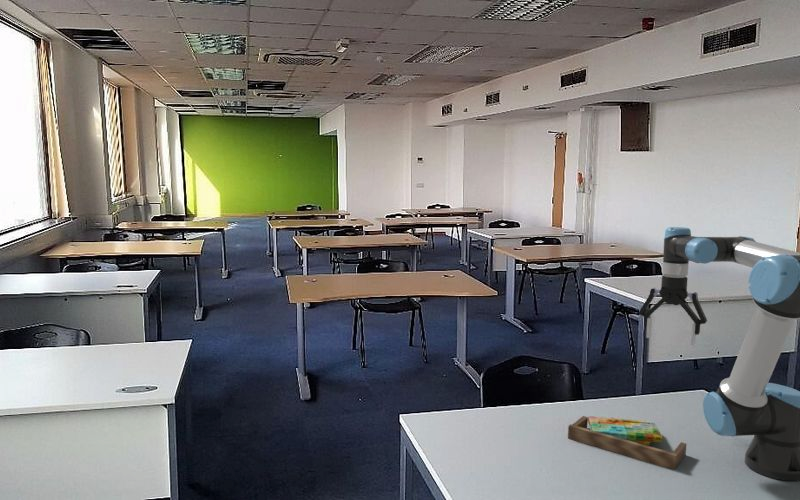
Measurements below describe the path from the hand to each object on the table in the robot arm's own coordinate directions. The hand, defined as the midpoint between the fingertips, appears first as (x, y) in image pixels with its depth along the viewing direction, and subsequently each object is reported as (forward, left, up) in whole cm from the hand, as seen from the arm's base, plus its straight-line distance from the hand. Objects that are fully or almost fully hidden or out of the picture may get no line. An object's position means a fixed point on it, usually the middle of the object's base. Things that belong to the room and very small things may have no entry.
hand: (670, 340), depth 202 cm
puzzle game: (+6, +22, -28) cm, 36 cm away
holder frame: (+3, +28, -27) cm, 39 cm away
